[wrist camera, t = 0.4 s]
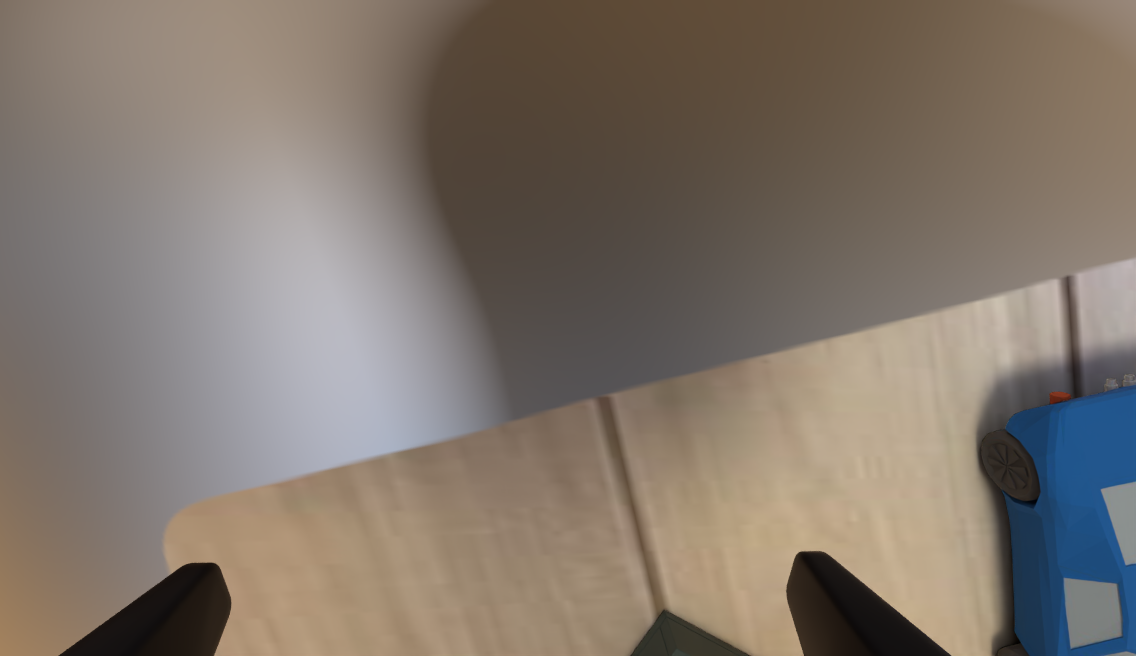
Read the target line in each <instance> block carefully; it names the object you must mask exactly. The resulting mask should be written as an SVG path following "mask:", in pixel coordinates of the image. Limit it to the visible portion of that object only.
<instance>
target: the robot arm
mask: <svg viewBox="0 0 1136 656" xmlns="http://www.w3.org/2000/svg"><path fill="white" fill-rule="evenodd" d="M786 593H787V600H788V604H789V608H790V611H791V614H792V617H793V621H794V624H795V627H796V631H797V634H798V637H799V640H800V644H801V647H802V650H803V654H804V656H951V655H950V654H949V653H947V652H946V651H945V650H944V649H943V648H941V647H940V646H939V645H938V644H937V643H935V642H934V641H933V640H932V639H930V638H929V637H928V636H927V635H926V634H924V633H923V632H922V631H921V630H919V629H918V628H917V627H916V626H915V625H913V624H912V623H911V622H910V621H909V620H907V619H906V618H905V617H904V616H902V615H901V614H900V613H899V612H898V611H896V610H895V609H894V608H893V607H892V606H890V605H889V604H888V603H887V602H885V601H884V600H883V599H882V598H881V597H879V596H878V595H877V594H876V593H875V592H873V591H872V590H871V589H870V588H868V587H867V586H866V585H865V584H864V583H862V582H861V581H860V580H859V579H857V578H856V577H855V576H854V575H853V574H851V573H850V572H849V571H848V570H847V569H845V568H844V567H843V566H842V565H840V564H839V563H838V562H837V561H836V560H834V559H833V558H832V557H831V556H829V555H828V554H826V553H824V552H821V551H802V552H799V553H798V554H797V555H796V557H795V559H794V563H793V566H792V570H791V573H790V576H789V580H788V583H787V590H786ZM230 611H231V597H230V594H229V591H228V588H227V586H226V583H225V580H224V577H223V575H222V572H221V569H220V567H219V566H218V565H217V564H215V563H189V564H186V565H184V566H182V567H180V568H179V569H178V570H176V571H175V572H173V573H172V574H171V575H169V576H168V577H167V578H165V579H164V580H162V581H161V582H160V583H158V584H157V585H155V586H154V587H153V588H151V589H150V590H149V591H147V592H146V593H144V594H143V595H142V596H141V597H139V598H138V599H136V600H135V601H133V602H132V603H131V604H129V605H128V606H127V607H125V608H124V609H122V610H121V611H120V612H118V613H117V614H116V615H114V616H113V617H111V618H110V619H109V620H107V621H106V622H104V623H103V624H102V625H100V626H99V627H98V628H96V629H95V630H93V631H92V632H91V633H89V634H88V635H87V636H85V637H84V638H82V639H81V640H80V641H78V642H77V643H75V644H74V645H73V646H71V647H70V648H69V649H67V650H66V651H64V652H63V653H62V654H60V655H59V656H214V654H215V652H216V649H217V646H218V644H219V641H220V639H221V636H222V633H223V631H224V628H225V626H226V623H227V620H228V618H229V615H230Z"/></svg>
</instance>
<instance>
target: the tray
mask: <svg viewBox="0 0 1136 656" xmlns="http://www.w3.org/2000/svg"><path fill="white" fill-rule="evenodd" d="M631 656H749V655H747V654H745V653H743V652H741V651H739V650H738V649H736V648H734V647H732V646H730V645H728V644H726V643H725V642H723V641H721V640H719V639H717V638H715V637H713V636H712V635H710V634H708V633H706V632H704V631H702V630H700V629H699V628H697V627H695V626H693V625H691V624H689V623H687V622H686V621H684V620H682V619H680V618H678V617H676V616H674V615H673V614H671V613H669V612H667V611H665V610H664V611H663V613H662V614H661V615H660V617H659V618H658V619H657V621H656V622H655V624H654V625H653V626H652V628H651V629H650V630H649V632H648V633H647V635H646V636H645V637H644V639H643V640H642V642H641V643H640V644H639V646H638V647H637V648H636V650H635V651H634V653H633V654H632V655H631Z"/></svg>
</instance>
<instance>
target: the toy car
mask: <svg viewBox="0 0 1136 656" xmlns="http://www.w3.org/2000/svg"><path fill="white" fill-rule="evenodd" d="M1104 389H1105V392H1102V393H1098V394H1093V395H1089V396H1085V397H1080V398H1076V399H1071V395H1070V394H1068V393H1064V392H1052V393H1050V394H1049V396H1050V405H1045V406H1041V407H1037V408H1032V409H1028V410H1024V411H1021V412H1018V413H1016V414H1014V415H1013V416H1012V417H1011V418H1010V419H1009V421H1008V423H1007V425H1006V428H1005V429H1003V430H998V431H995V432H991V433H988V434H987V435H986V437H985V438H984V439H983V441H982V450H981V455H982V460H983V464H984V466H985V468H986V470H987V472H988V474H989V476H990V477H991V478H992V480H993V481H994V482H995V483H996V485H997V486H999V487H1000V488H1001V490H1002V492H1003V494H1004V496H1005V501H1006V506H1007V511H1008V516H1009V521H1010V528H1011V544H1012V562H1013V587H1014V613H1015V628H1014V632H1015V634H1016V635H1017V637H1018V639H1019V640H1020V642H1021V644H1017V645H1012V646H1008V647H1004V648H1002V649H1000V650H999V651H998V654H997V656H1136V380H1134V375H1132V374H1126V375H1124V380H1122V387H1120V388H1119V386H1118V384H1117V383H1116V379H1113V378H1109V379H1106V384H1104ZM1069 399H1071V400H1069ZM1066 400H1067V401H1066ZM1062 401H1063V402H1062Z"/></svg>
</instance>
